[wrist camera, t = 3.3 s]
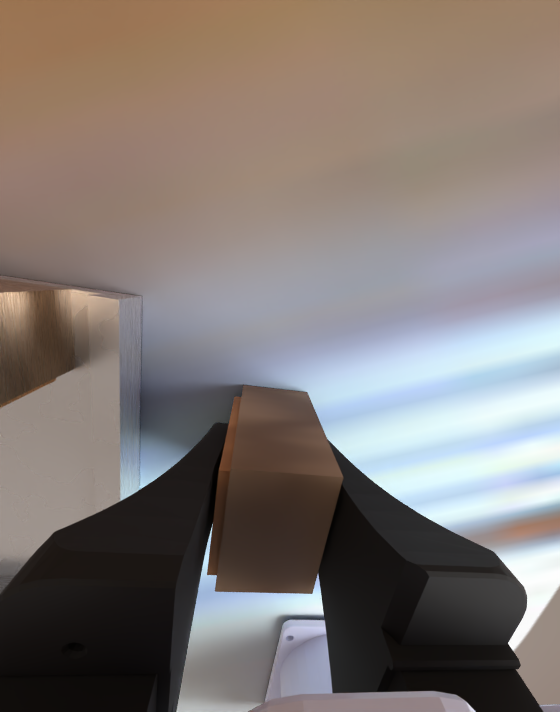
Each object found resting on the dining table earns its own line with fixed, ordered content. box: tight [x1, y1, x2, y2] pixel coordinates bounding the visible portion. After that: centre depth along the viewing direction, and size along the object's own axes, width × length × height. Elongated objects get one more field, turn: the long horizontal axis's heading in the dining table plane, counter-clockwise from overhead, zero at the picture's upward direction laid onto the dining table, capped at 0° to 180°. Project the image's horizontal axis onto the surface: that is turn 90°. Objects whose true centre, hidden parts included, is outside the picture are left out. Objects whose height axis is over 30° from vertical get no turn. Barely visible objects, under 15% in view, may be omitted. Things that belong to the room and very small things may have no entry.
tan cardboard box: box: [207, 385, 343, 594], centre depth 10 cm, size 3×4×6 cm
